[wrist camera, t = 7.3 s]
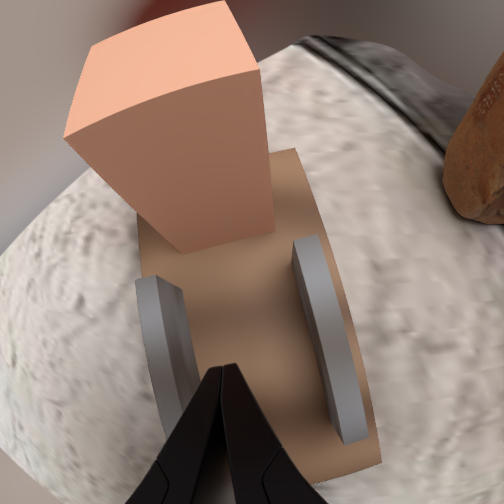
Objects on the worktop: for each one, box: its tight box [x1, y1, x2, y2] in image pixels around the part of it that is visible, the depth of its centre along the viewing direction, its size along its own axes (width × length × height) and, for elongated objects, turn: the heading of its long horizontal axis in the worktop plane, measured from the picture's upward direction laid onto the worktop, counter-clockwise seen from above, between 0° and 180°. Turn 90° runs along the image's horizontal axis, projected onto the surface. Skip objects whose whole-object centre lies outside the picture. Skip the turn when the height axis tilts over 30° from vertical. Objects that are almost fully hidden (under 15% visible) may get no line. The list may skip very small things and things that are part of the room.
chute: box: [135, 148, 382, 485], centre depth 15 cm, size 22×12×6 cm, turn 13°
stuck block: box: [63, 1, 275, 254], centre depth 13 cm, size 6×6×12 cm
